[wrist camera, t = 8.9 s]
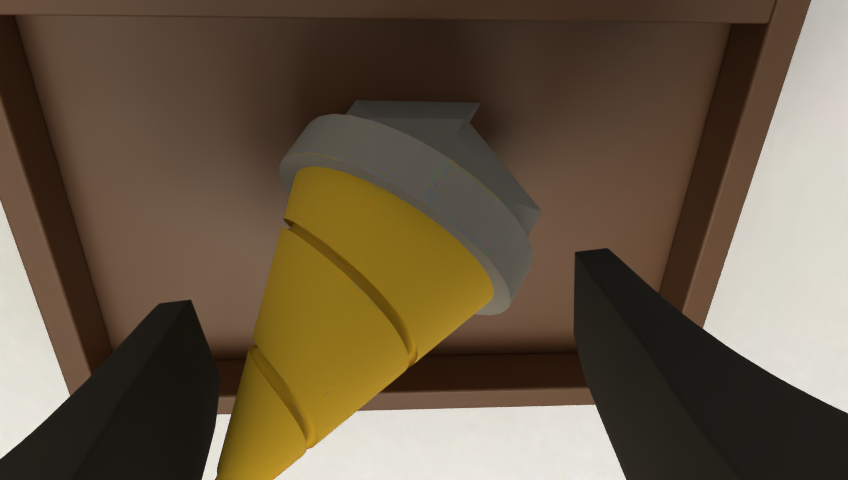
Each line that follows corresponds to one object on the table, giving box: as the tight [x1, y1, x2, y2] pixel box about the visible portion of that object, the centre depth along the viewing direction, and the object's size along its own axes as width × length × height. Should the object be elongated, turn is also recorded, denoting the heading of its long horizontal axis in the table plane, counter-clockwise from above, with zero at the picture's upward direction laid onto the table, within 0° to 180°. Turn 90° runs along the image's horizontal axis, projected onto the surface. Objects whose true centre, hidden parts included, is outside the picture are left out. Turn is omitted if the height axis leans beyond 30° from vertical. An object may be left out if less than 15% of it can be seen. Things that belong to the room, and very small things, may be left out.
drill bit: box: [215, 100, 542, 480], centre depth 14 cm, size 5×5×10 cm
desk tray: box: [0, 0, 811, 414], centre depth 16 cm, size 16×11×2 cm
